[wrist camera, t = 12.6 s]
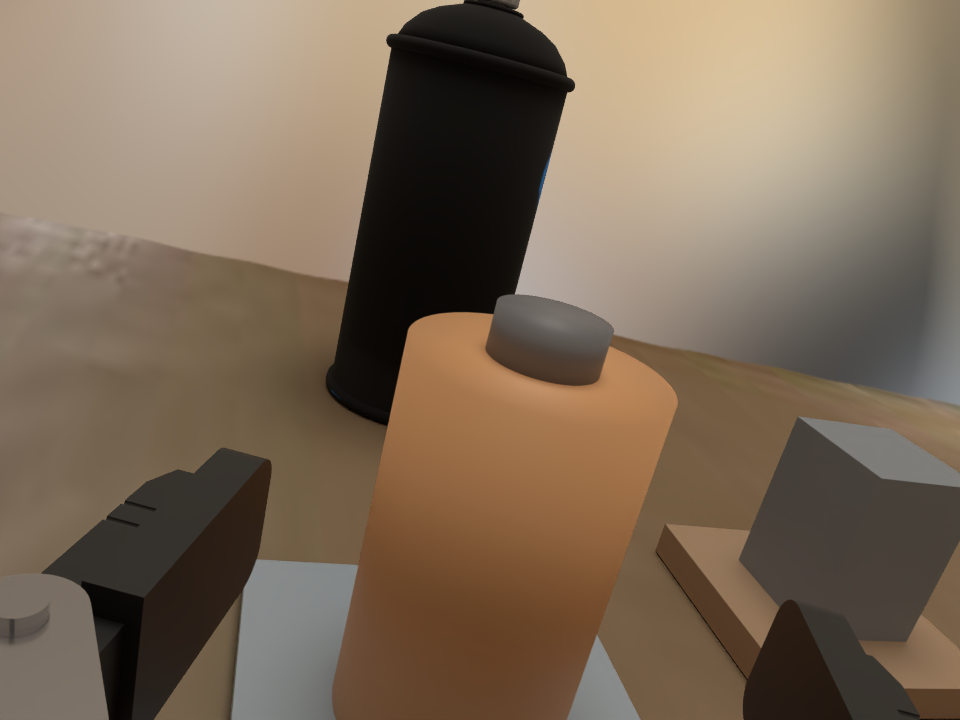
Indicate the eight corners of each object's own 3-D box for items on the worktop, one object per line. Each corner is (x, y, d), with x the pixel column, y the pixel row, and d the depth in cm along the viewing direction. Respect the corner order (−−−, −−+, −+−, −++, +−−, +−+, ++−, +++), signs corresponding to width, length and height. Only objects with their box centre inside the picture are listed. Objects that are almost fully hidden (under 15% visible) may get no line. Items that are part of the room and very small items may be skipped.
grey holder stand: (776, 719, 21) (874, 512, 19) (655, 550, 29) (716, 384, 26) (986, 718, 24) (1096, 533, 22) (825, 562, 31) (895, 410, 29)
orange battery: (338, 809, 15) (444, 345, 12) (327, 617, 20) (400, 255, 17) (593, 800, 16) (750, 390, 13) (523, 624, 22) (625, 295, 18)
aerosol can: (391, 445, 32) (505, -80, 25) (293, 367, 37) (366, -84, 30) (522, 420, 37) (643, -12, 31) (421, 356, 43) (506, -26, 36)
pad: (205, 963, 13) (211, 932, 12) (242, 582, 22) (246, 558, 21) (714, 915, 16) (727, 889, 15) (560, 596, 25) (567, 576, 24)
